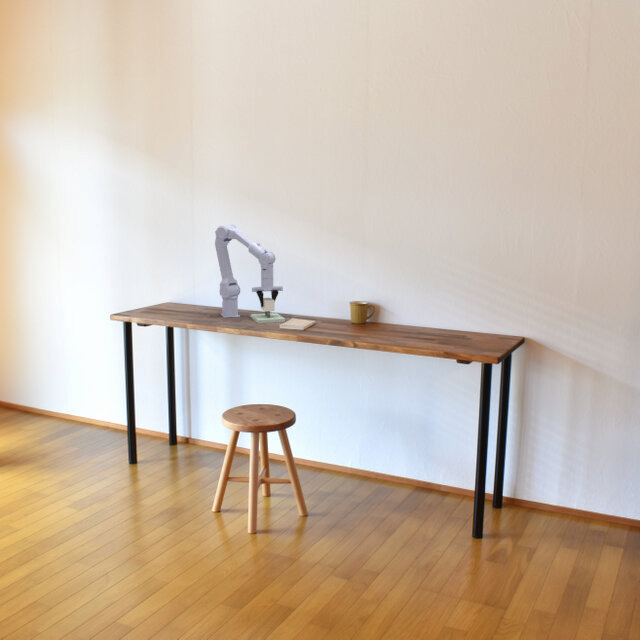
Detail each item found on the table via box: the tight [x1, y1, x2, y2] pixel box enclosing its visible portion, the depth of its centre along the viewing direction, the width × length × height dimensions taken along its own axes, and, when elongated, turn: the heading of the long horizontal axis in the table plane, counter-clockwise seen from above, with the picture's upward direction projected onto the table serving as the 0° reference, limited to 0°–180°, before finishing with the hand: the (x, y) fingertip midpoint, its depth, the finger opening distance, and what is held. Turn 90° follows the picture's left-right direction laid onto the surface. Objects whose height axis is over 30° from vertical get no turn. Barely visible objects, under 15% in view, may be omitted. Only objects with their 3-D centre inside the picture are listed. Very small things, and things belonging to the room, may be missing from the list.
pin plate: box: [250, 311, 286, 324], centre depth 373 cm, size 16×13×5 cm
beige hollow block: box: [260, 297, 276, 312], centre depth 372 cm, size 9×5×5 cm, turn 17°
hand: (267, 306), depth 372 cm, fingers closed on beige hollow block, 5 cm apart
